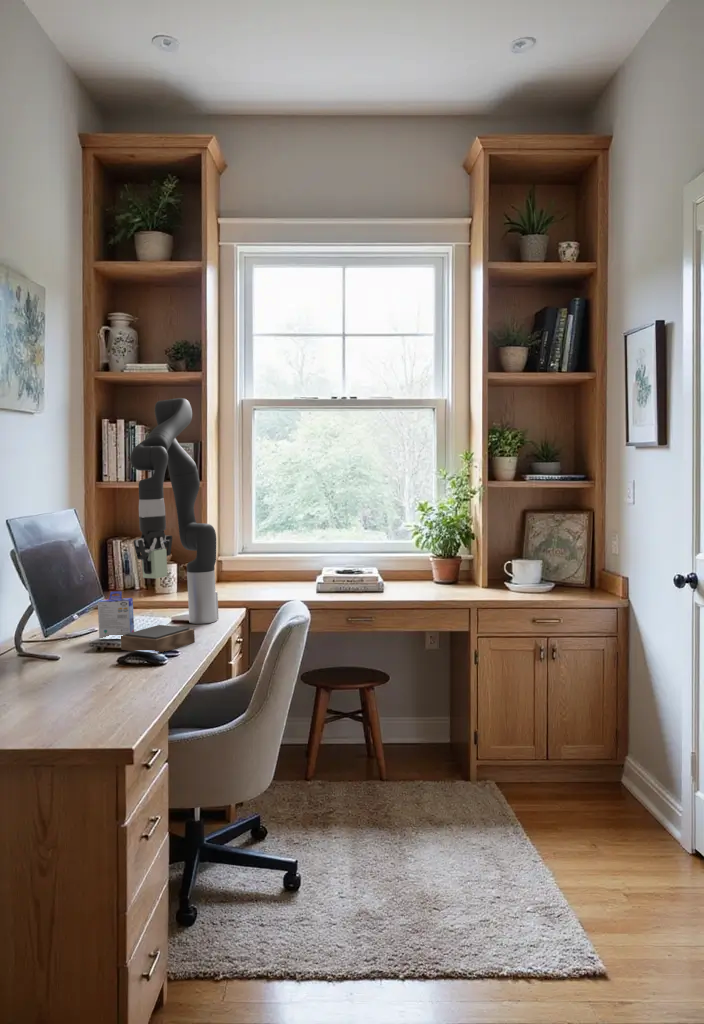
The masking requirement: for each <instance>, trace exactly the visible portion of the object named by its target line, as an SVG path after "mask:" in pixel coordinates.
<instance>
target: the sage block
mask: <svg viewBox="0 0 704 1024" xmlns="http://www.w3.org/2000/svg"><path fill="white" fill-rule="evenodd" d="M166 551H167V548H166V549H154V551H152V553H151V560H150V561H151V569H152V573H151V574H145V572H144V566H143V561H142V560H141V563H142V565H141V566H142V578H143V579H160V578H165V577H168V558H167V557H168V556H167V553H166ZM147 555H148V553H146V556H147Z"/></svg>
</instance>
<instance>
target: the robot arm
mask: <svg viewBox="0 0 704 1024" xmlns="http://www.w3.org/2000/svg"><path fill="white" fill-rule="evenodd" d="M190 403H191V402H190V401H189V400H187V399H186V398H184V397H183V398H182V397H177V398H170V399H164V400H158V401H157V402H156V403H155V405H154V415H155V420H156V424H157V425H156V426H155V427H154V428H153V429H152V430H151V431H150V433H149V434H148V436H147V438H146V439H144V440H142V441H141V442H140V443H138V444H137V445H136V446H134V448H132V451H131V453H130V459H129V460H130V464H131V466H132V467H133V468H134V470H136V471H143V472H145V471H153V474H152V476H150V477H148V478H147V477H146V478H143V479H140V480H139V481H138V519H139V521H138V524H139V531H140V532H141V536H140V538H138V539H134V540H133V545H134V549H135V554H136V559H137V560H140V561H141V562H142V561H143V566H144V572H145V574H151V573H152V569H151V561H150V560H151V553H152V551H154V549H166V553H167V557H168V556H171V553H172V545H173V535H166V534H165V531H166V529H167V520H166V519H167V518H166V505H165V500H164V499H165V497H164V495H165V494H164V482H165V476H166V475H165V474H166V470H167V469H168V475H169V478H170V485H171V488H172V492H173V497H174V503H175V507H176V508H175V509H176V514H177V515H176V516H177V525H178V532H179V533H178V534H179V540H180V543H181V545H182V547H183V548H184V549H185V550H188V551H195V552H196V557H195V558H194V560H191V561H189V562H188V563H186V581H187V598H188V599H187V601H188V621H189V624H197V625H201V624H202V625H203V624H210V623H215V622H217V620H219V619H220V618H219V617H220V616H219V601H218V599H219V598H218V595H219V594H218V591H216V589H217V588H216V575H215V574H216V572H215V571H216V570H215V567H216V563H217V533H216V530H215V528H214V526H213V525H212V524H210V523H204V522H203V523H197V520H196V515H195V503H196V500H197V497H198V494H199V491H200V488H201V487H200V486H201V481H200V475H199V471H198V467H197V464H196V462H195V461H194V459H193V458H192V457H191V456H190V454H189V453H188V452H187V451H186V450H185V449H184V448H183V447H182V446H181V445H180V444H179V442H178V440H177V437H178V436H179V435H180V434H181V433H182V432H183V431H184V430H185V429H186V428H187V427H188V426H189V425H190V424H191V422H192V419H193V410H192V405H191V404H190ZM146 553H148V555H147V556H146Z"/></svg>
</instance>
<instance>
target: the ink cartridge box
mask: <svg viewBox="0 0 704 1024" xmlns="http://www.w3.org/2000/svg"><path fill="white" fill-rule="evenodd" d="M122 593H123V591H122V590H119V591H116V590H115V591H110V594H109V597H108V599H107V598H106V599H101V600H99V601H98V602H97V612H98V613H97V615H98V618H97V619H98V637H99V638H103V637H106V636H109V635H126V634H127V633H131V632H135V619H134V601H133V600H134V599H133V597H128V598H127V597H125V598H122V595H123V594H122ZM115 594H118V595H115Z"/></svg>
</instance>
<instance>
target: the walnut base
mask: <svg viewBox="0 0 704 1024" xmlns="http://www.w3.org/2000/svg"><path fill="white" fill-rule="evenodd" d="M195 639H196V637H195V629H194V628H190V627H184V626H174V625H163V624H156V625H155V626H154V625H153V626H151V627H147V628H143V629H139V630H134V632H131V633H127V634H126V635H123V636H121V639H120V650H121V651H129V652H135V651H134V650H155V651H159V652H162V653H165V652H168V651H171V650H174V649H178V648H180V647H184V646H188V645H190V644H194V643H196V640H195ZM164 651H165V652H164Z"/></svg>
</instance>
